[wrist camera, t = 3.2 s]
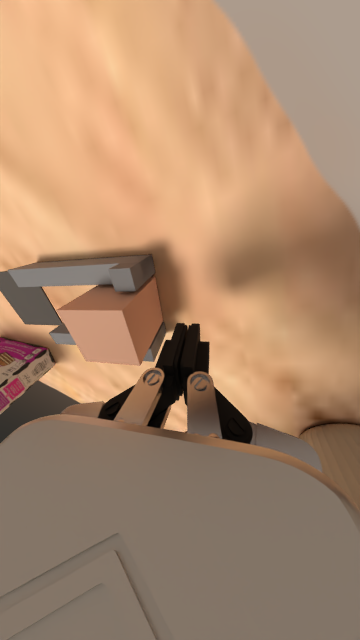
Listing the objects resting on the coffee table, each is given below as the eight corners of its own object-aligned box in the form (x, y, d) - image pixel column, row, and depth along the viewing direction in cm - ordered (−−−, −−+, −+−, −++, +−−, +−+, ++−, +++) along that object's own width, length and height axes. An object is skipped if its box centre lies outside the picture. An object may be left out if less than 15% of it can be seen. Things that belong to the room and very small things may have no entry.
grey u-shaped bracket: (166, 333, 23) (154, 361, 19) (73, 329, 27) (44, 353, 22) (151, 254, 17) (129, 267, 13) (36, 262, 21) (-14, 275, 16)
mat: (63, 325, 26) (62, 325, 26) (25, 323, 28) (25, 324, 28) (31, 270, 22) (30, 270, 22) (-12, 272, 23) (-13, 272, 23)
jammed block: (163, 320, 22) (140, 365, 15) (123, 319, 23) (86, 361, 16) (155, 276, 19) (121, 310, 12) (109, 278, 20) (56, 310, 13)
